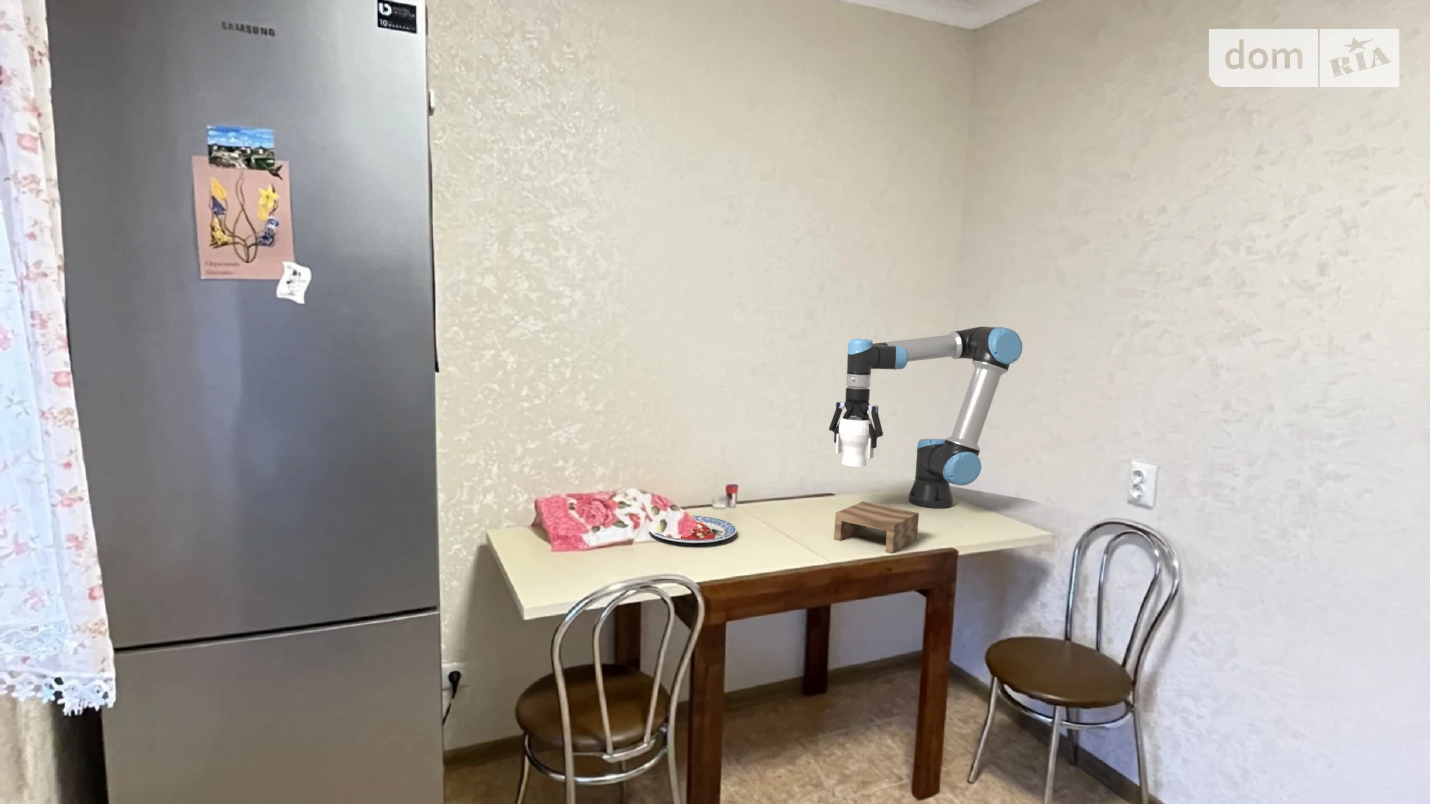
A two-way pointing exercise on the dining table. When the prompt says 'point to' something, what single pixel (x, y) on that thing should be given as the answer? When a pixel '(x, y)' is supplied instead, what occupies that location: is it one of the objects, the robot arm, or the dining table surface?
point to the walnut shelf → (878, 523)
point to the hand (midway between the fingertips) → (854, 455)
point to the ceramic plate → (706, 531)
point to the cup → (854, 440)
